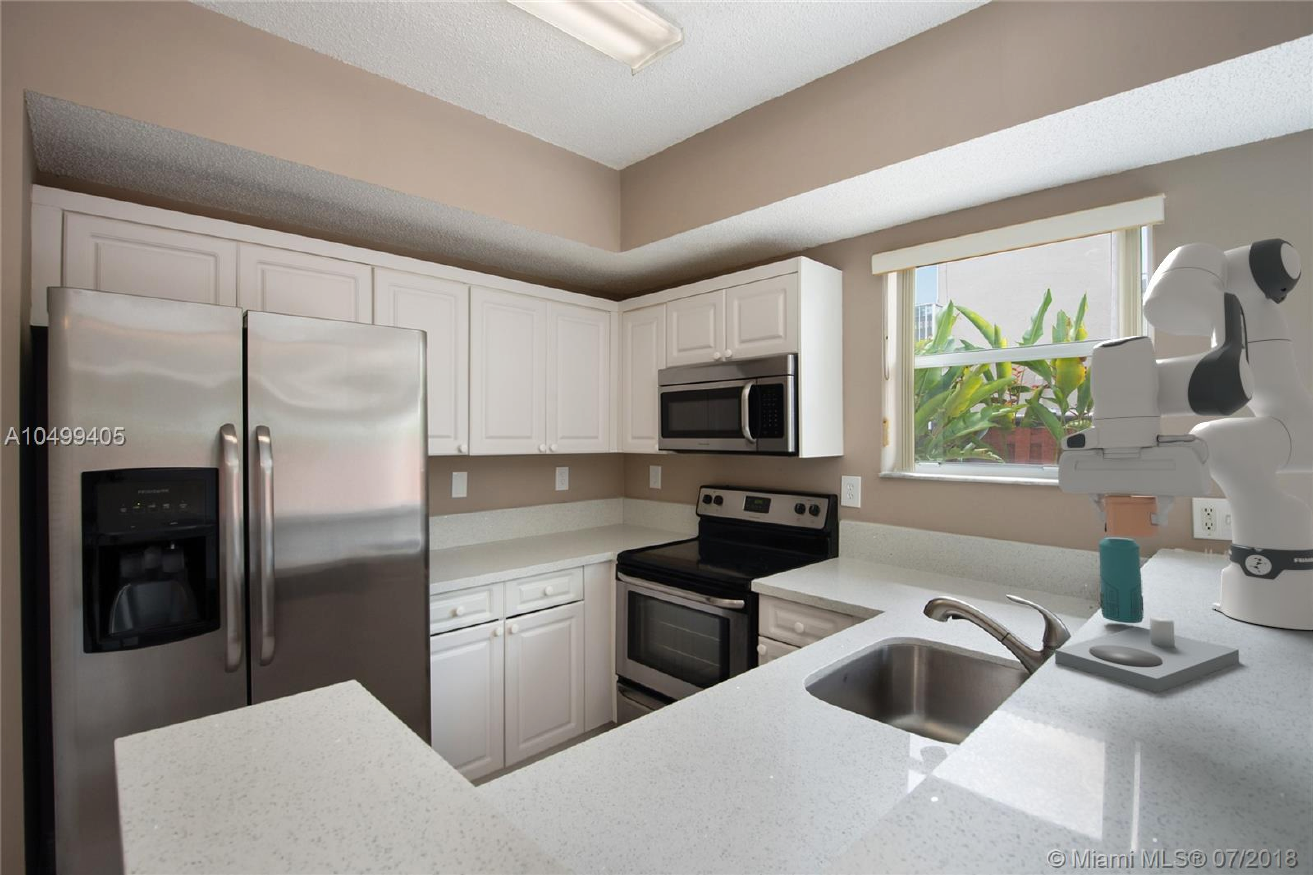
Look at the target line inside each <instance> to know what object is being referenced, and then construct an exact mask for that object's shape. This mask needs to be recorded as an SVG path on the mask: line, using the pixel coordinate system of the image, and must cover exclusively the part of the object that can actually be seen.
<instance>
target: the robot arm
mask: <svg viewBox="0 0 1313 875" xmlns="http://www.w3.org/2000/svg"><path fill="white" fill-rule="evenodd" d="M1301 274H1302V262H1301V257H1300V255H1299V253H1298V251H1297V250H1296V248H1295V247H1293V245H1292V244H1291V242H1289V241H1287V240H1284V239H1282V238H1279V237H1278V238H1269V239H1262V240H1258V241H1254V242H1252V244H1248V245H1245V246H1240V247H1236V248H1232V249H1229V250H1225V251H1223V250H1221V249H1220V248H1219V247H1218V246H1215V245H1214V244H1210V243H1206V242H1193V243H1189V244H1184V245H1182V246H1179V247H1177V248H1176V249H1175V250H1173V251H1172V252H1170V253H1169V254H1168V255H1167V256H1166V258H1165V259H1164V260H1163V261H1162V262H1161V264H1160V265H1159V267H1158V268H1157V270H1156V271H1155V273H1154V274H1153V276H1152V277H1151V280H1150V281H1149V284H1148V286H1147V288H1146V291H1145V293H1144V297H1143V301H1142V312H1143V316H1144V318H1145V320H1146V321H1147V322H1148V323H1149V324H1150V325H1151V326H1152V327H1154V329H1157V330H1159V331H1161V332H1163V333H1165V334H1167V335H1171V336H1178V337H1205V338H1206V337H1207V338H1210V349H1208V350H1207V351H1204V352H1200V353H1197V354H1191V355H1185V356H1177V357H1170V358H1162V359H1157V358H1156V353H1155V348H1154V344H1153V341H1152V339H1151V337H1150V336H1146V335H1136V336H1135V335H1134V336H1127V337H1122V338H1117V339H1110V340H1105V341H1101V342H1099V343H1098V344H1097V345H1095V346H1094V347H1093V349H1092V353H1091V361H1090V370H1089V371H1090V372H1089V373H1090V374H1089V382H1090V383H1089V388H1090V396H1091V399H1092V402H1093V413H1092V415H1091V416H1092V417H1091V420H1092V421H1091V425H1092V426H1091V427H1089V428H1088V427H1087V428H1086V429H1083V430H1081V431H1080V430H1079V431H1078V432H1075V433H1072V434H1069V435H1066V436H1064V437H1063V438H1061V440H1060V447H1061V448H1062V450H1065V451H1064V452H1062V453H1061V455H1060V456H1059V459H1058V460H1059V461H1058V468H1057V469H1058V472H1057V473H1058V477H1057V478H1058V487H1059V488H1060V490H1062V492H1063V493H1065V494H1087V495H1088V501H1089V503H1090V504H1091V506H1092V507H1093V508H1094V510H1095V511H1096V515H1097V517H1096V518H1097V521H1098V522H1099V523H1105V522H1106V510H1105V503H1104V502H1103V501H1105V496H1106V495H1131V496H1150V497H1156V496H1157V497H1156V501H1157V504H1161V505H1160V506H1159V509H1157V514H1150V518H1151V525H1154V526H1158V527H1167V526H1168V524H1169V521H1168V515H1169V514H1170V512H1171V510H1173V508H1174V506H1175V505H1176V504H1177V503H1176V502H1177V501H1176V497H1185V498H1186V497H1188V498H1201V497H1202V498H1203V497H1207V496H1208V495H1209V494H1211V492H1212V491H1213V481H1212V480H1214V482H1215V483H1216V484H1217V485H1218V486H1219V487H1220V489H1221V491H1222V492H1223V495H1224V496H1225V499H1226V501H1227V504H1228V508H1229V515H1230V523H1231V524H1230V525H1231V540H1232V541H1231V542H1230V543H1229V549H1228V554H1229V561H1230V564H1229V565H1228V566H1226V567H1225V568H1223V569H1222V570H1221V574H1220V575H1221V577H1220V578H1221V579H1220V592H1219V593H1220V594H1219V597H1220V598H1219V601H1218V602H1212V603H1211V609H1213V610H1215V609H1216V610H1215V611H1219V612H1222V614H1224V615H1225V616H1228V617H1229V618H1233V619H1236V620H1239V621H1243V622H1247V623H1250V624H1251V623H1252V624H1257V625H1263V626H1268V627H1272V628H1273V627H1275V628H1283V629H1292V630H1304V631H1305V630H1307V631H1308V630H1310V631H1312V630H1313V511H1312V508H1311V507H1310V506H1309V504H1307V503H1306V502H1305V501H1304V500H1303V499H1301V498H1299V497H1297V496H1295V495H1293V494H1290V493H1288V492H1286V491H1285V490H1284V489H1283V488H1282V486H1281V485H1280V483H1279V481H1278V478H1277V474H1312V473H1313V397H1312V396H1311V394H1310V392H1309V391H1308V390H1307V389H1306V387H1305V385H1304V383H1303V381H1302V379H1301V377H1300V373H1299V368H1298V365H1297V361H1296V357H1295V356H1296V355H1295V350H1294V347H1293V340H1292V336H1291V332H1290V328H1289V324H1288V321H1287V318H1286V316H1285V314H1284V312H1283V309H1282V307H1281V305H1280V304H1281V303H1282V302H1284V301H1285V300H1286V298H1287V295H1288V294H1289V293H1290V292H1291V291H1293V290H1294V289H1295V287H1296V285H1297V284H1298V282H1299V280H1300V279H1301ZM1245 406H1246V407H1248V408H1249V409H1250V411H1252V413H1253V414H1254V417H1253V416H1252V417H1251V416H1250V417H1249V416H1247V417H1227V416H1232V415H1233V414H1235V413H1236V412H1238V411H1239V410H1240V409H1242V408H1244V407H1245ZM1184 416H1185V417H1187V416H1188V417H1189V416H1190V417H1191V416H1203V417H1205V416H1212V417H1213V416H1214V417H1215V416H1216V417H1219V416H1220V417H1221V416H1222V417H1223V416H1224V417H1225V416H1226V417H1227V418H1220V419H1215V420H1210V421H1206V422H1205V421H1204V422H1201V423H1198V424H1196V425H1195V426H1193V427H1192V429H1191V430H1190V431H1189V432H1188V434H1187V433H1186V434H1181V435H1177V434H1167V435H1165V434H1164V435H1163V428H1162V427H1163V425H1162V418H1174V417H1175V418H1176V417H1184Z"/></svg>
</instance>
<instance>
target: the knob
mask: <svg viewBox="0 0 1313 875" xmlns="http://www.w3.org/2000/svg"><path fill="white" fill-rule="evenodd" d="M1104 501H1105V502H1104V506H1105V510H1106V528H1107V532H1106V534H1108V535H1111V536H1121V537H1140V538H1141V537H1151V538H1153V537H1158V536H1159V526H1154V525H1151V518H1150V514H1157V512H1158V506H1157V504H1158V502H1157V497H1156V496H1148V495H1116V494H1107V496H1106V495H1105V500H1104Z"/></svg>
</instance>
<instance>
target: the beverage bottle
mask: <svg viewBox="0 0 1313 875" xmlns="http://www.w3.org/2000/svg"><path fill="white" fill-rule="evenodd" d="M1104 532H1105V533H1107V528H1106V522H1104ZM1098 548H1099V576H1100V577H1099V584H1100V592H1099V595H1100V599H1099V600H1100V610H1101V615H1102V617H1103V618H1104V619H1105V620H1109V621H1112V622H1118V623H1125V624H1137V623H1138V624H1139V623H1142V622H1143V619H1144V618H1145V617H1144V610H1145V609H1144V596H1143V591H1144V589H1143V588H1144V587H1143V579H1142V573H1141V571H1142V570H1141V558H1140V557H1141V556H1140V555H1141V554H1140V552H1141V551H1140V548H1141V546H1140V544H1139V543H1138V542H1136V541H1135V540H1134V539H1132V538H1127V537H1116V536H1115V537H1112V536H1111V537H1104V538H1103V539H1101V541H1099V543H1098Z"/></svg>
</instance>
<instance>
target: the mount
mask: <svg viewBox="0 0 1313 875" xmlns="http://www.w3.org/2000/svg"><path fill="white" fill-rule="evenodd" d="M1239 650H1240V649H1239V648H1234V647H1229V646H1225V645H1220V644H1216V643H1211V642H1207V641H1204V640H1203V641H1202V640H1198V639H1194V638H1190V637H1185V636H1181V635H1176V634H1175V621H1174V619H1171V618H1166V617H1161V616H1160V617H1159V616H1153V617H1152V616H1151V617H1149V628H1147V627H1146V628H1145V627H1141V626H1135V627H1131V628H1128V629H1124V630H1121V631H1120V630H1119V631H1116V632H1113V633H1110V634H1106V635H1101V636H1099V637H1095V638H1092V639H1089V640H1088V639H1087V640H1085V641H1082V642H1077V643H1074V644H1070V645H1067V646H1063V647H1059V648H1056V649H1054V660H1055V663H1058V664H1061V665H1063V666H1067V667H1070V668H1073V669H1077V670H1080V671H1083V672H1087V673H1091V674H1094V675H1097V676H1099V677H1103V678H1107V679H1110V680H1114V681H1115V682H1120V683H1123V684H1126V685H1130V686H1133V687H1136V688H1140V689H1143V690H1147V691H1150V692H1152V693H1156V694H1158V693H1161V692H1163V691H1167V690H1169V689H1173V688H1174V687H1177V686H1180V685H1182V684H1184V683H1188V682H1190V681H1192V680H1193V681H1194V680H1195V679H1198V678H1200V677H1203V676H1207V675H1208V674H1213V673H1214V672H1216V671H1220V670H1222V669H1224V668H1228V667H1230V666H1233V665H1235V664H1239V663H1240V654H1239V653H1240V652H1239Z"/></svg>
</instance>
